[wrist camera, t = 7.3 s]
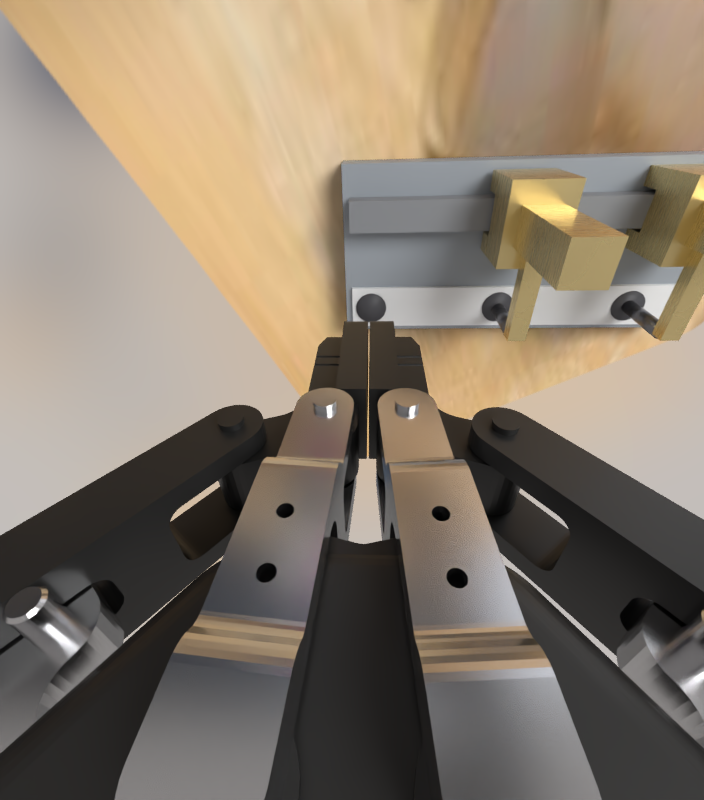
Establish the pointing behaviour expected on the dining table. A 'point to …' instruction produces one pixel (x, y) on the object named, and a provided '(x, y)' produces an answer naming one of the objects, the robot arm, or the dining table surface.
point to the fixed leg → (672, 245)
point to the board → (462, 236)
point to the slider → (545, 241)
